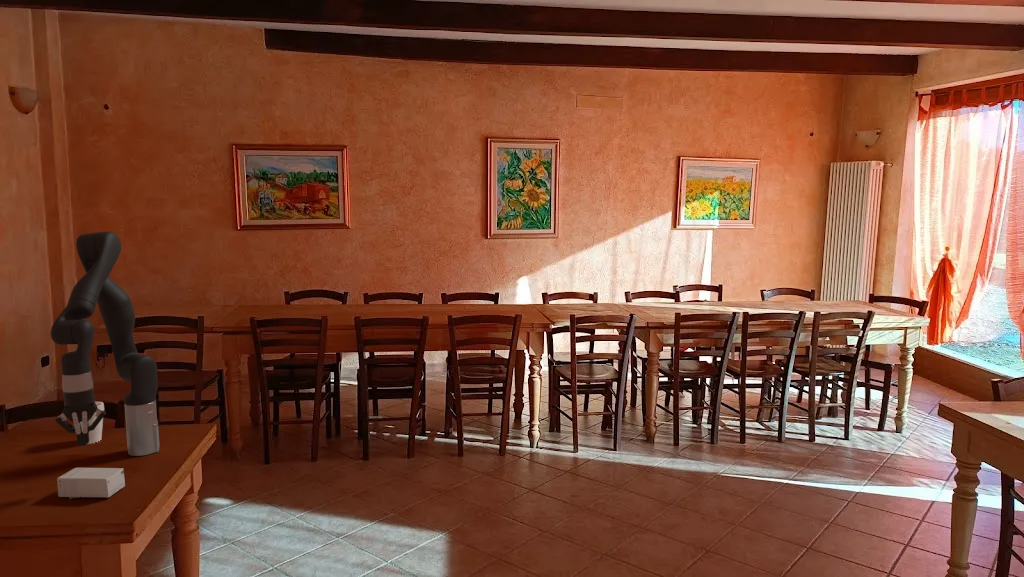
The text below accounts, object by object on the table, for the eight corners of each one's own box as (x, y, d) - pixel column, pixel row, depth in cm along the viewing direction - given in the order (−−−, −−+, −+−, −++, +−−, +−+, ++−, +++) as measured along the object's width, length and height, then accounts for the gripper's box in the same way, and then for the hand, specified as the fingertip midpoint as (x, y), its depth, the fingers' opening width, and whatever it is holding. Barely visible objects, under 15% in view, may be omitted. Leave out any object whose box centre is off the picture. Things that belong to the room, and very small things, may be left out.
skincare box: (57, 497, 193) (107, 499, 192) (55, 476, 192) (105, 479, 191) (78, 484, 201) (126, 487, 200) (77, 465, 201) (125, 467, 200)
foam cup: (72, 440, 241) (69, 405, 239) (102, 434, 247) (99, 400, 245) (78, 447, 234) (75, 411, 232) (109, 441, 240) (106, 405, 238)
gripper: (106, 381, 204) (111, 437, 206) (53, 387, 198) (59, 444, 200) (102, 388, 197) (108, 445, 199) (48, 393, 191) (54, 453, 194)
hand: (83, 445), depth 200 cm, fingers closed
